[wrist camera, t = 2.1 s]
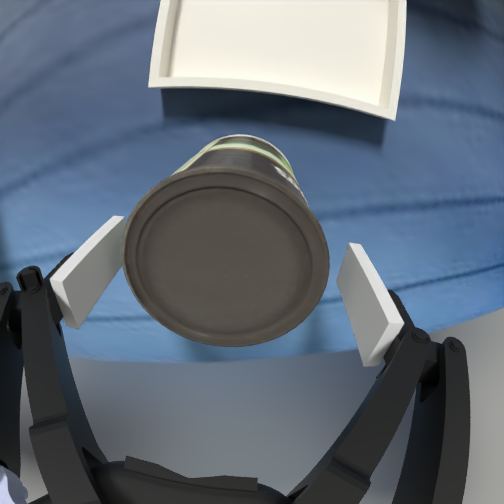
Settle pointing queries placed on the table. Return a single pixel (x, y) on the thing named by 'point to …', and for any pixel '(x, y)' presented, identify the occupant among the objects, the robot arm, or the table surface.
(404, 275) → the table surface
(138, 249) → the coffee can
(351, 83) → the tray
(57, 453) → the robot arm
